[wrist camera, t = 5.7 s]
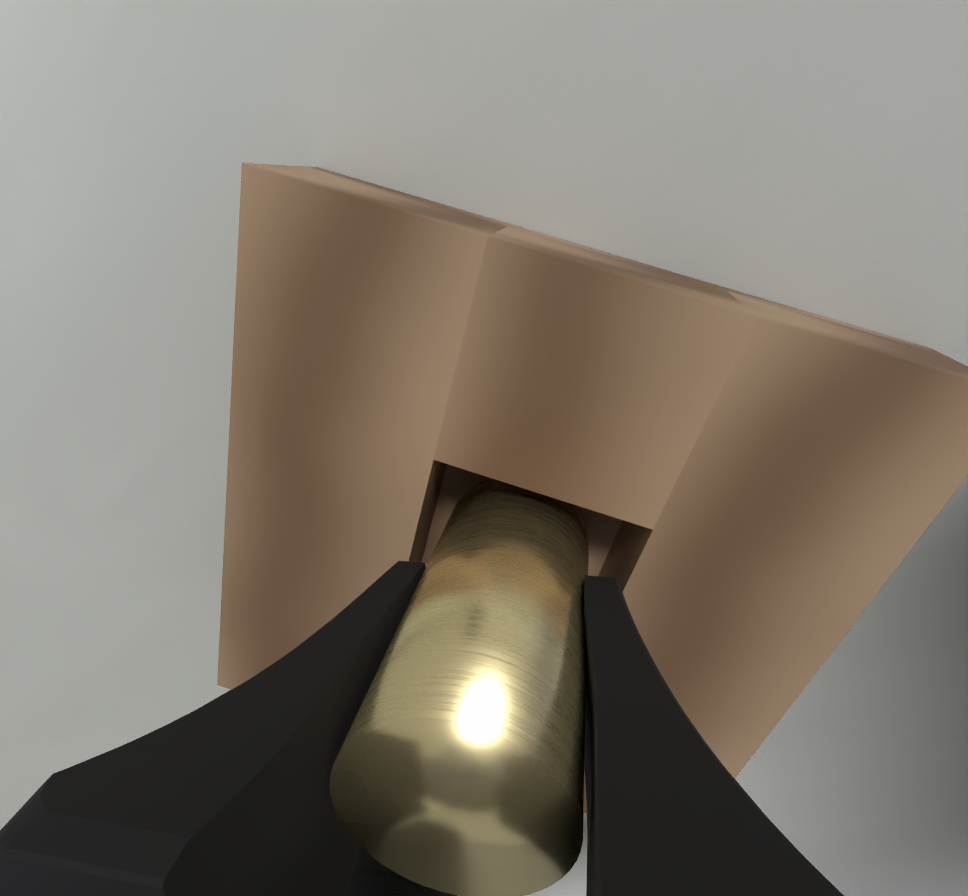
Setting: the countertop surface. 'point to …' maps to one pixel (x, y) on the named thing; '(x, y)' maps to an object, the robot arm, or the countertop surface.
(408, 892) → the drinking cup
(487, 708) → the pin
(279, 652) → the socket block
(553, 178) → the countertop surface
